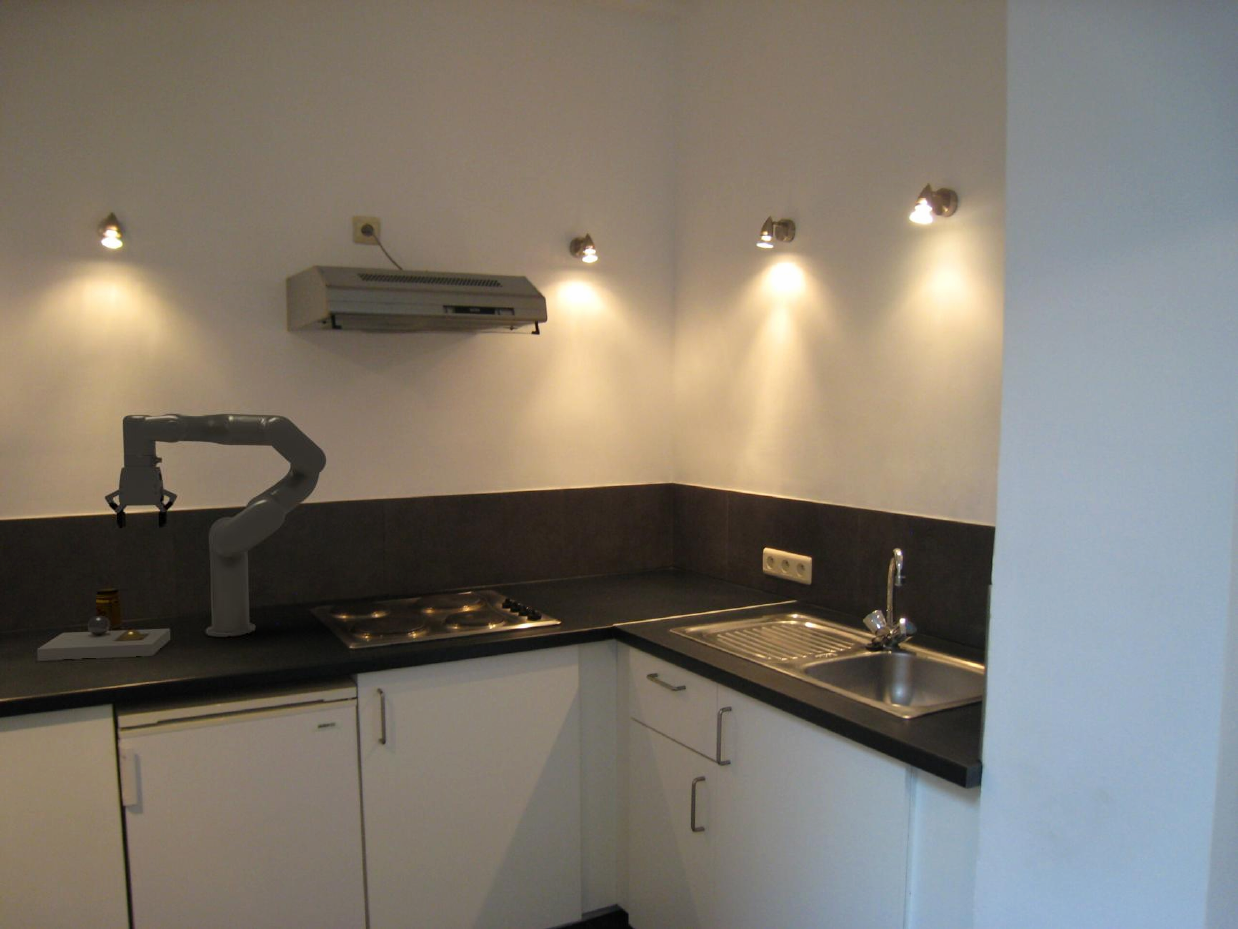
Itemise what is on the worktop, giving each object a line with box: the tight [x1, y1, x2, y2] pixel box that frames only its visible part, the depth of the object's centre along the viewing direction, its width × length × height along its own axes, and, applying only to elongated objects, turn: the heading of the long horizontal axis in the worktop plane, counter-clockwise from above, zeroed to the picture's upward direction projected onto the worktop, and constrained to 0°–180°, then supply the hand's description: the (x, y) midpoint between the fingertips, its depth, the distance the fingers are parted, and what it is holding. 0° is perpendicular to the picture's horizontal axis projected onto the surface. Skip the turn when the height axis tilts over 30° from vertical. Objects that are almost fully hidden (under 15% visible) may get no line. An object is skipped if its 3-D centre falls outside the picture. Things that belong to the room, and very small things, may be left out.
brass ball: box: [120, 628, 142, 641], centre depth 240 cm, size 5×5×5 cm
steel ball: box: [87, 615, 110, 635], centre depth 242 cm, size 5×5×5 cm
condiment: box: [95, 587, 123, 631], centre depth 257 cm, size 7×8×12 cm
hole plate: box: [36, 628, 171, 662], centre depth 239 cm, size 16×26×3 cm, turn 101°
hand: (142, 527), depth 246 cm, fingers open, 9 cm apart
